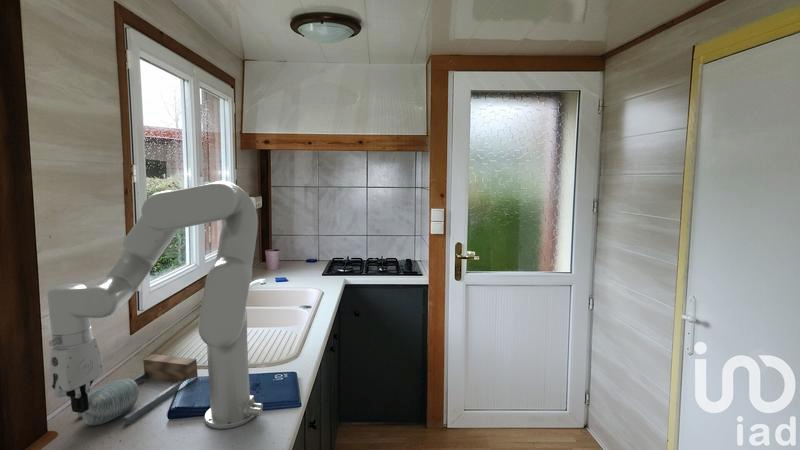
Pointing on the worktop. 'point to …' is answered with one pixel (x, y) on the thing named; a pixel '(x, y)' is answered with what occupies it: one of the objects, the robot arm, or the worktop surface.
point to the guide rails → (151, 403)
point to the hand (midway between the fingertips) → (80, 410)
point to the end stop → (170, 368)
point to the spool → (110, 401)
